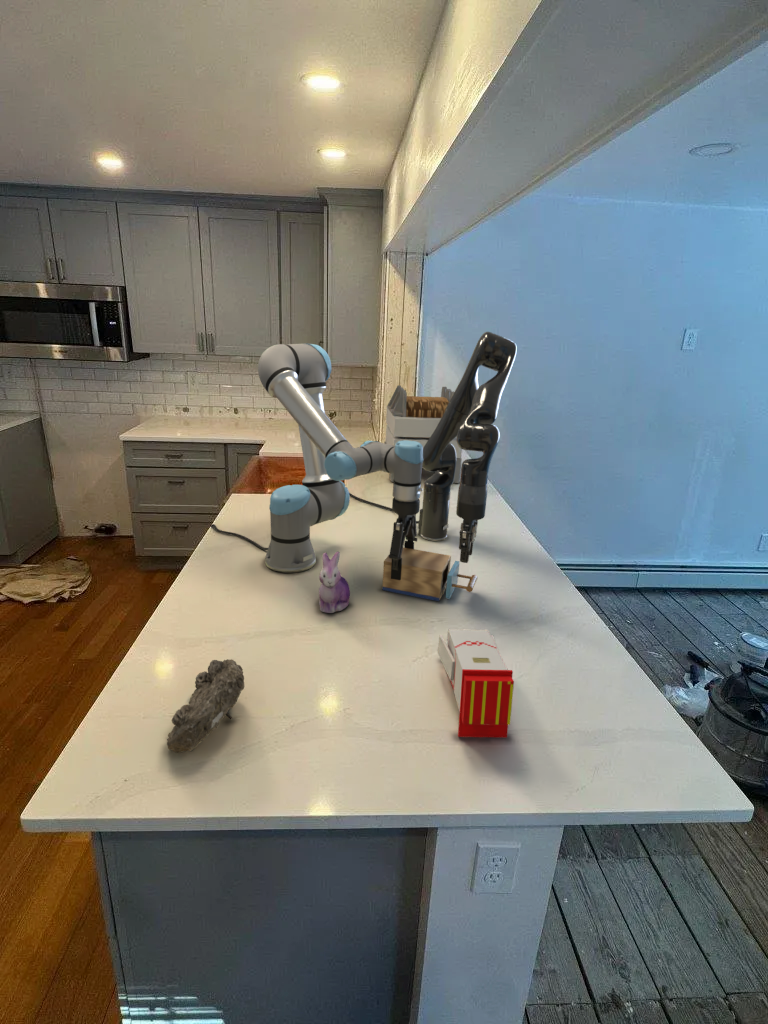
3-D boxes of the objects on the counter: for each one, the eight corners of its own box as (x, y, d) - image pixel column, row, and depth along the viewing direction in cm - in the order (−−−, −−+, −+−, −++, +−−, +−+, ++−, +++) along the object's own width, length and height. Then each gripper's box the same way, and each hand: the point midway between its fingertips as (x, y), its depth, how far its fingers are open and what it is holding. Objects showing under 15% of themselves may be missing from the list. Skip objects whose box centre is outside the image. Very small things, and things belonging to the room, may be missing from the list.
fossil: (192, 660, 117) (244, 628, 112) (224, 691, 120) (276, 661, 115) (142, 746, 98) (202, 712, 93) (182, 779, 101) (242, 748, 96)
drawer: (477, 586, 162) (479, 564, 159) (470, 603, 153) (472, 579, 150) (407, 573, 168) (408, 552, 165) (396, 588, 159) (398, 566, 156)
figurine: (324, 618, 144) (324, 564, 139) (310, 599, 152) (310, 548, 147) (358, 610, 148) (359, 558, 143) (342, 593, 156) (343, 543, 151)
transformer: (382, 463, 289) (386, 382, 275) (445, 464, 293) (451, 384, 279) (390, 482, 257) (394, 392, 243) (460, 483, 261) (468, 394, 247)
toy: (488, 613, 130) (523, 677, 101) (484, 667, 133) (517, 744, 104) (435, 612, 130) (455, 676, 101) (432, 666, 133) (451, 743, 103)
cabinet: (448, 583, 165) (451, 555, 162) (439, 601, 155) (441, 571, 152) (394, 573, 170) (396, 545, 167) (382, 590, 160) (383, 560, 157)
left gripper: (407, 513, 143) (402, 590, 150) (430, 488, 164) (425, 556, 172) (379, 509, 145) (375, 585, 153) (405, 484, 166) (401, 552, 174)
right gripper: (481, 509, 141) (474, 571, 147) (490, 493, 154) (484, 550, 160) (452, 505, 143) (446, 566, 149) (463, 489, 156) (457, 546, 162)
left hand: (402, 570), depth 162 cm, fingers closed on cabinet, 11 cm apart
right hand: (466, 557), depth 155 cm, fingers open, 5 cm apart
